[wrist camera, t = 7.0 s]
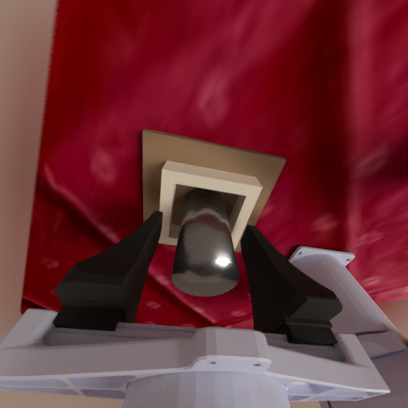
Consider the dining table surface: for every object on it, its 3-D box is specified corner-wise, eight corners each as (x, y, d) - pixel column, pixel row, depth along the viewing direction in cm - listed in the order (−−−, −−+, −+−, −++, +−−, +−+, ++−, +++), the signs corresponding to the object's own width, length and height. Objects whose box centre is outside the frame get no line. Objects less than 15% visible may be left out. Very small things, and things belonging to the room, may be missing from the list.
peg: (216, 223, 18) (225, 300, 11) (180, 215, 17) (166, 291, 10) (230, 192, 16) (250, 264, 9) (189, 181, 15) (179, 250, 8)
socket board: (240, 247, 21) (245, 266, 19) (145, 234, 20) (137, 253, 17) (282, 156, 15) (297, 168, 12) (145, 128, 13) (133, 135, 11)
